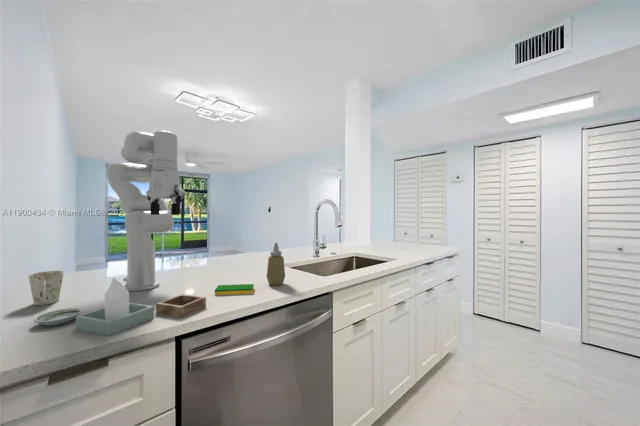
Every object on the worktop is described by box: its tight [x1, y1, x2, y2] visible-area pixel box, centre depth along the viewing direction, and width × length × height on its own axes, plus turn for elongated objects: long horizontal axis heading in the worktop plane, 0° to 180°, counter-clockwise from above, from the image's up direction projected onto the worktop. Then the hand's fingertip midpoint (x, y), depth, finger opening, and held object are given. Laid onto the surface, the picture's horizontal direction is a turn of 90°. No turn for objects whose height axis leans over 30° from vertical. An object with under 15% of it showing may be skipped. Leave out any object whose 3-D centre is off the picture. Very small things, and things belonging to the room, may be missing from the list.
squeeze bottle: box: [266, 242, 286, 287], centre depth 116 cm, size 8×8×18 cm
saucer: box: [33, 307, 83, 327], centre depth 76 cm, size 10×10×2 cm
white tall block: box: [104, 277, 130, 321], centre depth 76 cm, size 6×12×6 cm
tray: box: [75, 301, 155, 337], centre depth 76 cm, size 13×13×3 cm
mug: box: [28, 270, 64, 306], centre depth 91 cm, size 8×13×10 cm, turn 45°
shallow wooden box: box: [155, 293, 207, 318], centre depth 86 cm, size 10×10×3 cm
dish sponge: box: [214, 283, 255, 296], centre depth 105 cm, size 7×14×2 cm, turn 99°
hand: (165, 214), depth 96 cm, fingers open, 9 cm apart
